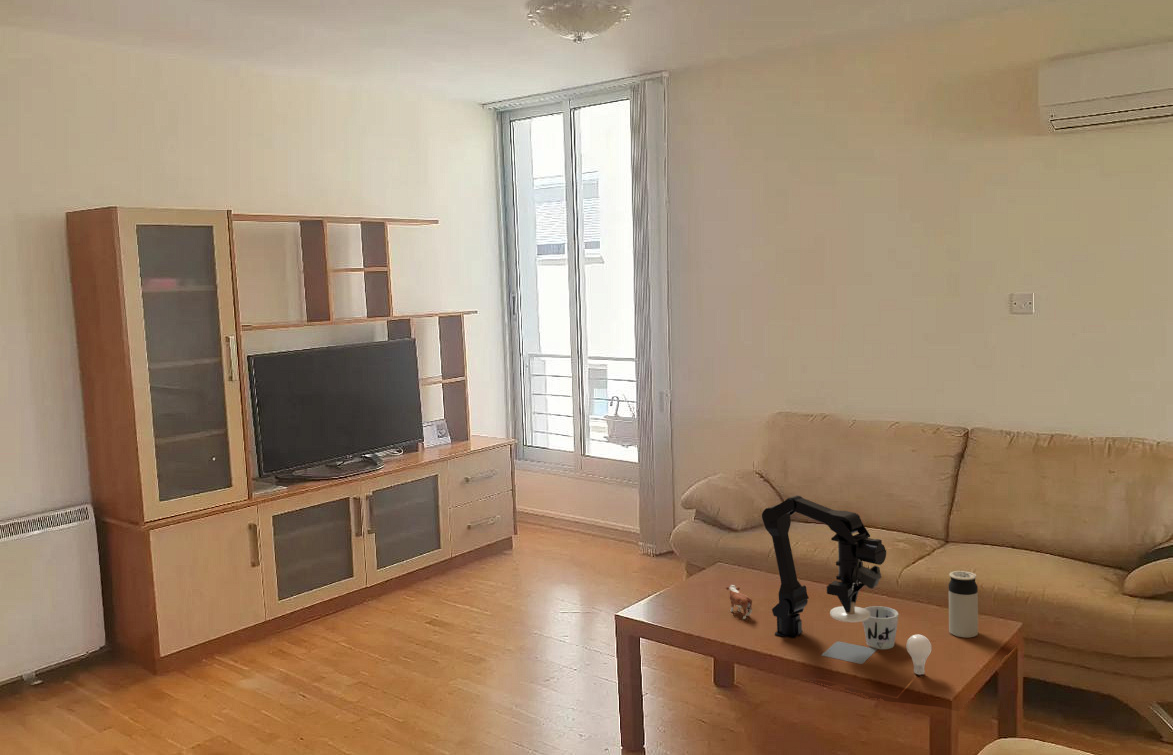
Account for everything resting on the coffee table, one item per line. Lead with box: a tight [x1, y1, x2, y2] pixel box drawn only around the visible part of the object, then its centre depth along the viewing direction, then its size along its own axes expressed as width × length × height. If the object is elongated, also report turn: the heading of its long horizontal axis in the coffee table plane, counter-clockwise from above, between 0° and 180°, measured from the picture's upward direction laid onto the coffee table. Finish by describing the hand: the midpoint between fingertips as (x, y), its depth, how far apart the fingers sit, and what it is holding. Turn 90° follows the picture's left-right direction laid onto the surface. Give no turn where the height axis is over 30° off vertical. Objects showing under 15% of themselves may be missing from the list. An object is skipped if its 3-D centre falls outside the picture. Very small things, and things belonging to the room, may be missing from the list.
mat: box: [820, 640, 878, 665], centre depth 263 cm, size 12×12×1 cm
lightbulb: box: [905, 634, 932, 676], centre depth 247 cm, size 6×6×11 cm
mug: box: [862, 605, 900, 650], centre depth 270 cm, size 10×15×10 cm
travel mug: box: [948, 570, 979, 639], centre depth 273 cm, size 8×8×18 cm
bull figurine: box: [725, 584, 753, 620], centre depth 298 cm, size 4×13×8 cm, turn 19°
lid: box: [829, 601, 870, 623], centre depth 262 cm, size 11×11×4 cm
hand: (849, 610), depth 262 cm, fingers closed on lid, 3 cm apart
